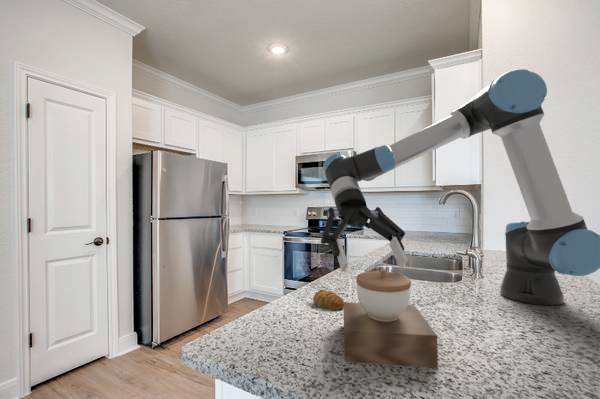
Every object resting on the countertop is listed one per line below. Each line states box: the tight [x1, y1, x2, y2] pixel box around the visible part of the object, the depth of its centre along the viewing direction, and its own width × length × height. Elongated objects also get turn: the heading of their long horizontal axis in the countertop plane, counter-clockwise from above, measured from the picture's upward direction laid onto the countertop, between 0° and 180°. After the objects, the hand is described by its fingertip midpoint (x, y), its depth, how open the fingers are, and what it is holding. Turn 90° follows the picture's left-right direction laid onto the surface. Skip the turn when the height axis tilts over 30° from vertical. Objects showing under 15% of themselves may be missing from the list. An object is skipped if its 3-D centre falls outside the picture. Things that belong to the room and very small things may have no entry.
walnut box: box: [343, 301, 439, 369], centre depth 60 cm, size 16×16×6 cm
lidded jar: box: [355, 269, 412, 322], centre depth 60 cm, size 11×11×9 cm
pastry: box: [312, 289, 345, 311], centre depth 83 cm, size 9×7×4 cm
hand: (375, 266), depth 62 cm, fingers open, 13 cm apart
